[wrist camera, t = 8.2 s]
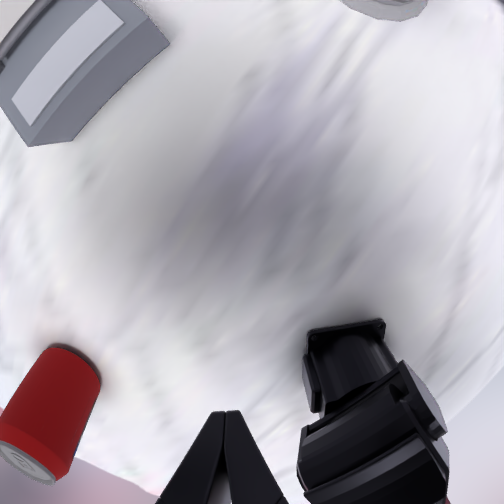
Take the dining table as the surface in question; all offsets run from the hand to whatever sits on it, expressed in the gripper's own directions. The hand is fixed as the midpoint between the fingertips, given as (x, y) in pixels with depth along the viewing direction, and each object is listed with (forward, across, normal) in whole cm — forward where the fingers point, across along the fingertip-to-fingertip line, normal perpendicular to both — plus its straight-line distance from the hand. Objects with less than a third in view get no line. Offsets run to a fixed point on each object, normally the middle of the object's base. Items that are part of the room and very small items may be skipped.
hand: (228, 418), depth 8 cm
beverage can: (+13, +17, +10) cm, 24 cm away
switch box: (+13, +8, -15) cm, 22 cm away
